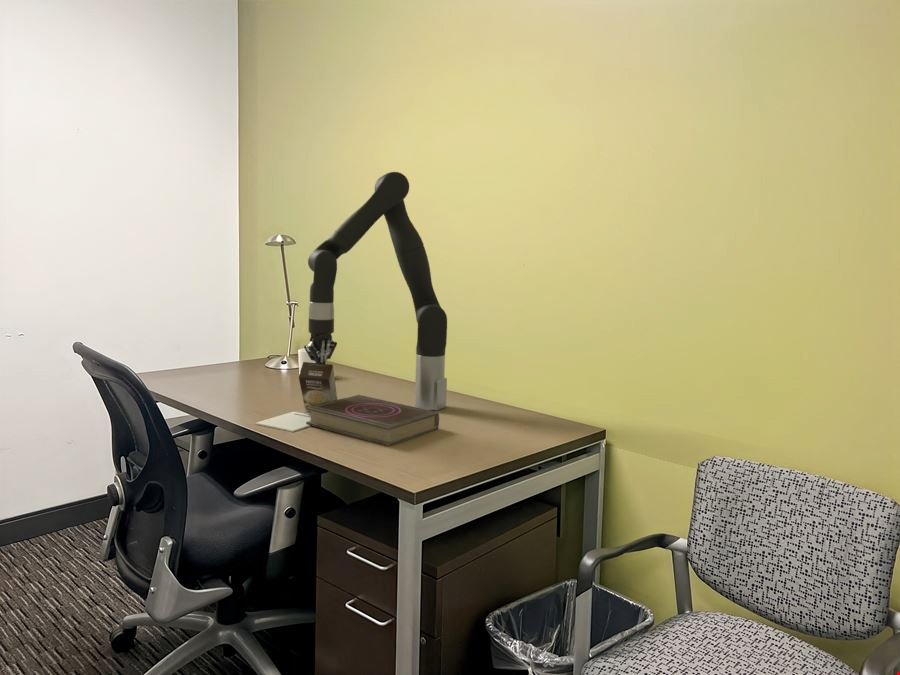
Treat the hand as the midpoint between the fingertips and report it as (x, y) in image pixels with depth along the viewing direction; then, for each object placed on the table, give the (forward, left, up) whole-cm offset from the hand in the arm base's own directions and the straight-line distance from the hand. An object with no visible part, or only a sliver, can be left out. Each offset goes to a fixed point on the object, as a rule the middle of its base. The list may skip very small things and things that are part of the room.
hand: (320, 373), depth 209 cm
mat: (0, +12, -12) cm, 17 cm away
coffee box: (0, -1, -10) cm, 10 cm away
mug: (+38, -41, -12) cm, 57 cm away
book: (-22, +4, -12) cm, 26 cm away
